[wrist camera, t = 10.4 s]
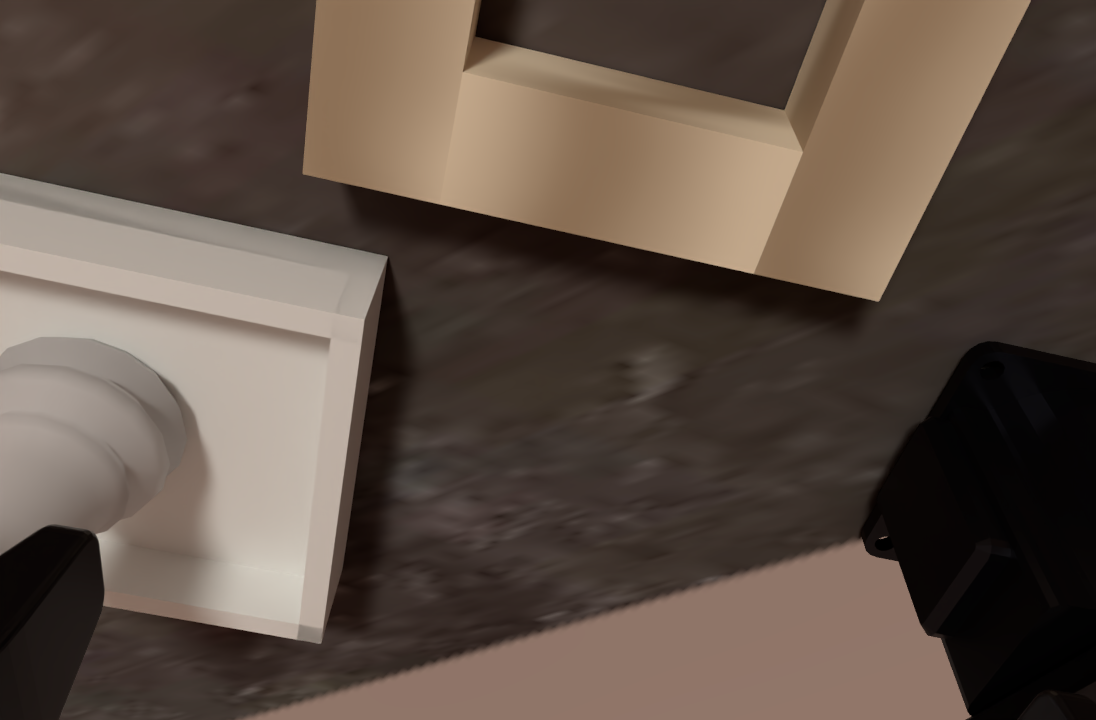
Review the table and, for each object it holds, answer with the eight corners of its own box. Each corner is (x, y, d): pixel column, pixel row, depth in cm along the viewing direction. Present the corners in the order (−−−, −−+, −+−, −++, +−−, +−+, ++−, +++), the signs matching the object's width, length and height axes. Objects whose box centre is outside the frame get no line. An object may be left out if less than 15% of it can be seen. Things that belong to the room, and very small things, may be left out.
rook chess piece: (151, 505, 23) (-21, 820, 17) (-30, 419, 22) (-293, 725, 16) (226, 391, 21) (63, 701, 15) (31, 287, 20) (-245, 578, 13)
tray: (387, 256, 20) (364, 319, 18) (342, 568, 26) (320, 644, 24) (-202, 129, 19) (-297, 182, 17) (-114, 485, 25) (-178, 556, 23)
